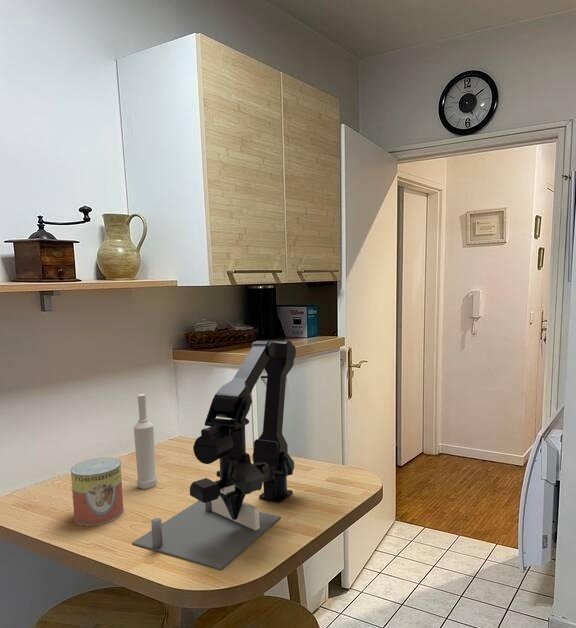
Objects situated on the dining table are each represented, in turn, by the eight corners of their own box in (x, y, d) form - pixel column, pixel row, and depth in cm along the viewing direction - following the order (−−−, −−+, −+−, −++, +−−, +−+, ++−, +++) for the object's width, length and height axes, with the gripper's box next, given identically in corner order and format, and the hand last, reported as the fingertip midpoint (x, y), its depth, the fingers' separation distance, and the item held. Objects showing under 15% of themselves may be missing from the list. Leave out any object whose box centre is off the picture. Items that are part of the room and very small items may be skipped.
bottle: (136, 483, 141) (130, 394, 139) (155, 480, 143) (150, 392, 141) (138, 490, 136) (132, 398, 134) (158, 486, 138) (152, 395, 136)
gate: (203, 508, 121) (202, 487, 121) (210, 505, 123) (209, 484, 123) (253, 531, 109) (252, 508, 109) (261, 527, 111) (260, 504, 110)
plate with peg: (200, 500, 128) (199, 477, 127) (280, 518, 117) (279, 493, 116) (132, 544, 108) (130, 517, 107) (221, 570, 97) (219, 540, 96)
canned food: (78, 530, 115) (75, 478, 114) (70, 512, 124) (66, 464, 123) (129, 516, 121) (126, 467, 120) (117, 500, 130) (114, 454, 129)
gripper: (216, 469, 98) (219, 548, 99) (289, 447, 111) (291, 517, 111) (187, 455, 107) (189, 528, 107) (257, 436, 119) (259, 502, 120)
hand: (234, 519), depth 111 cm, fingers closed
